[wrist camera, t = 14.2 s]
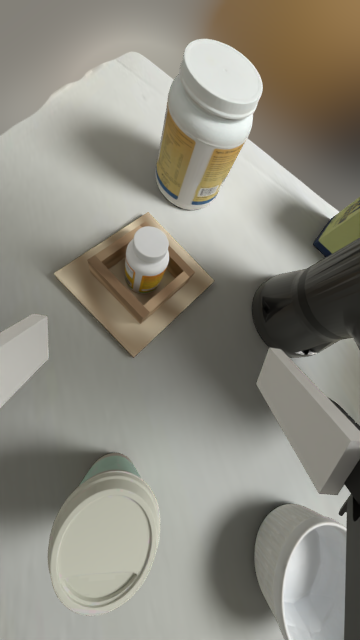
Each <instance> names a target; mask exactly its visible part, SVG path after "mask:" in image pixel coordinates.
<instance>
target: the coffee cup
mask: <svg viewBox="0 0 360 640" xmlns="http://www.w3.org/2000/svg"><path fill="white" fill-rule="evenodd" d="M159 537H160V511H159V506H158V502H157V499H156V497H155V495H154V493H153V491H152V490H151V488H150V487H149V486H148V484H147V483H146V482H145V481H144V480H142V479H141V477H140V475H139V474H138V472H137V470H136V468H135V467H134V465H133V463H132V462H131V460H130V459H129V458H128V457H126V456H125V455H123V454H120V453H110V454H107V455H104V456H102V457H101V458H99V459H98V460H97V461H96V462H95V463H94V464H93V466H92V467H91V468H90V470H89V471H88V473H87V474H86V476H85V477H84V479H83V481H82V482H81V484H80V485H79V487H78V488H76V489H75V490H74V491H73V492H72V493H71V495H70V496H69V497H68V498H67V499H66V501H65V502H64V504H63V505H62V507H61V508H60V510H59V512H58V514H57V516H56V518H55V521H54V523H53V526H52V530H51V534H50V539H49V547H48V566H49V572H50V575H51V581H52V585H53V588H54V591H55V593H56V595H57V597H58V598H59V599H60V601H61V602H62V603H63V604H64V605H65V606H66V607H67V608H68V609H70V610H71V611H73V612H75V613H78V614H81V615H86V616H96V615H102V614H105V613H108V612H111V611H113V610H115V609H117V608H118V607H120V606H121V605H123V604H124V603H125V602H127V601H128V600H129V599H130V598H131V597H132V596H133V595H134V594H135V593H136V592H137V591H138V589H139V588H140V587H141V585H142V584H143V582H144V581H145V579H146V577H147V575H148V573H149V571H150V569H151V567H152V564H153V561H154V558H155V554H156V550H157V547H158V543H159Z"/></svg>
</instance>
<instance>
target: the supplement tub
mask: <svg viewBox="0 0 360 640" xmlns="http://www.w3.org/2000/svg"><path fill="white" fill-rule="evenodd" d="M262 87H263V86H262V80H261V78H260V75H259V73H258V71H257V70H256V68H255V67H254V66H253V64H252V63H251V62H250V61H249V60H248V59H247V58H246V57H245V56H244V55H242V54H241V53H240V52H238V51H237V50H235V49H234V48H232V47H230V46H228V45H226V44H223V43H221V42H218V41H215V40H209V39H199V40H195V41H192V42H191V43H189V44H188V45H187V47H186V48H185V51H184V55H183V60H182V63H181V65H180V71H179V74H178V75H177V76H176V78H175V79H174V81H173V82H172V85H171V87H170V91H169V94H168V102H167V108H166V114H165V120H164V125H163V131H162V137H161V143H160V148H159V154H158V160H157V165H156V182H157V185H158V187H159V189H160V191H161V192H162V194H163V195H164V196H165V197H166V198H167V199H168V200H169V201H170V202H171V203H173V204H174V205H176V206H178V207H181V208H183V209H188V210H197V209H201V208H204V207H206V206H208V205H209V204H210V203H211V202H212V201H213V200H214V199H215V198H216V196H217V194H218V192H219V190H220V188H221V186H222V184H223V182H224V180H225V178H226V177H227V175H228V173H229V171H230V169H231V167H232V165H233V163H234V161H235V160H236V158H237V156H238V154H239V152H240V150H241V148H242V146H243V144H244V143H245V141H246V139H247V138H248V135H249V133H250V130H251V127H252V121H253V112H254V111H255V109H256V107H257V103H258V100H259V98H260V96H261V94H262V90H263V88H262Z"/></svg>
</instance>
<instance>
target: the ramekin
mask: <svg viewBox="0 0 360 640" xmlns="http://www.w3.org/2000/svg"><path fill="white" fill-rule="evenodd" d="M346 531H347V528H346V527H345V526H343V525H342V524H340V523H339V522H337V521H336V520H334V519H332V518H329V517H325V516H322V515H320V514H319V513H317V512H315V511H313V510H311V509H308V508H306V507H304V506H301V505H297V504H285V505H282V506H279V507H277V508H276V509H274V510H273V511H271V512H270V513H269V514H268V515H267V516H266V518H265V519H264V521H263V522H262V524H261V526H260V528H259V531H258V534H257V537H256V543H255V553H254V562H255V571H256V575H257V579H258V582H259V586H260V588H261V591H262V593H263V595H264V597H265V599H266V601H267V603H268V605H269V607H270V609H271V611H272V613H273V615H274V616H275V618H276V620H277V622H278V624H279V628H280V630H281V633H282V635H283V637H284V639H285V640H344V618H345V575H346Z"/></svg>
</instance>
